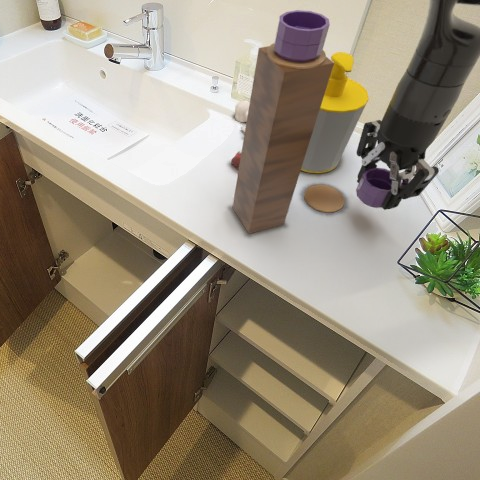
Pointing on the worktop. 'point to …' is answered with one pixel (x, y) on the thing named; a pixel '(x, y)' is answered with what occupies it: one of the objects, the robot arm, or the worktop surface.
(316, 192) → the coaster back
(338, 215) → the worktop surface
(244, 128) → the rivet
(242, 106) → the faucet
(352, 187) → the worktop surface
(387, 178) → the purple cup
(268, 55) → the coaster top
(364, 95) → the soap bottle
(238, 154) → the dental model
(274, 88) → the walnut stand
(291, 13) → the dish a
